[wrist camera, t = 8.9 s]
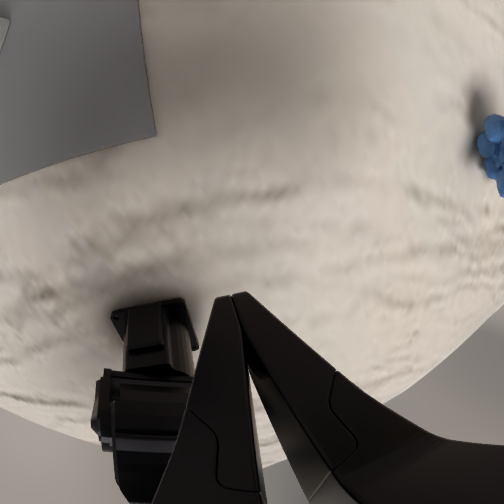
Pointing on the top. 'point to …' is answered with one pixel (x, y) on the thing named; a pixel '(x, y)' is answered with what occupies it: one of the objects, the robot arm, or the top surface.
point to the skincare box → (3, 29)
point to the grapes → (493, 149)
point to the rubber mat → (70, 81)
